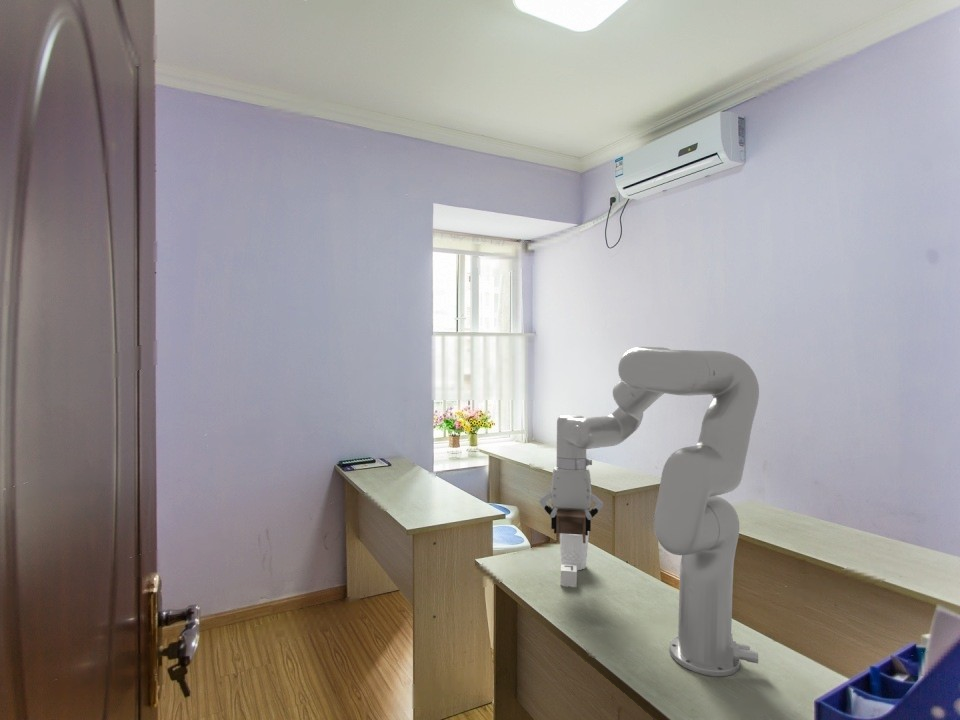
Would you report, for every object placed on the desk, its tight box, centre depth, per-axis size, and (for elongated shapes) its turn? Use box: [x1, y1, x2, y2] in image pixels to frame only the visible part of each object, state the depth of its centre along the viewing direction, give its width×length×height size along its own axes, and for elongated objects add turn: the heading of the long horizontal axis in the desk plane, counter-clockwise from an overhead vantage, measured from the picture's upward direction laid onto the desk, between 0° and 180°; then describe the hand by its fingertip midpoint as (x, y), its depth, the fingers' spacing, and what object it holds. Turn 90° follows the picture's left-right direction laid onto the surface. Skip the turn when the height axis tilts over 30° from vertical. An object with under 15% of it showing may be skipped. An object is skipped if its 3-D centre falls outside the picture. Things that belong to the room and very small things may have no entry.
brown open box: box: [555, 508, 586, 543], centre depth 136 cm, size 7×7×7 cm
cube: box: [560, 564, 578, 588], centre depth 136 cm, size 4×4×4 cm
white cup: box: [559, 531, 590, 571], centre depth 147 cm, size 8×8×10 cm
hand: (570, 532), depth 136 cm, fingers closed on brown open box, 7 cm apart
